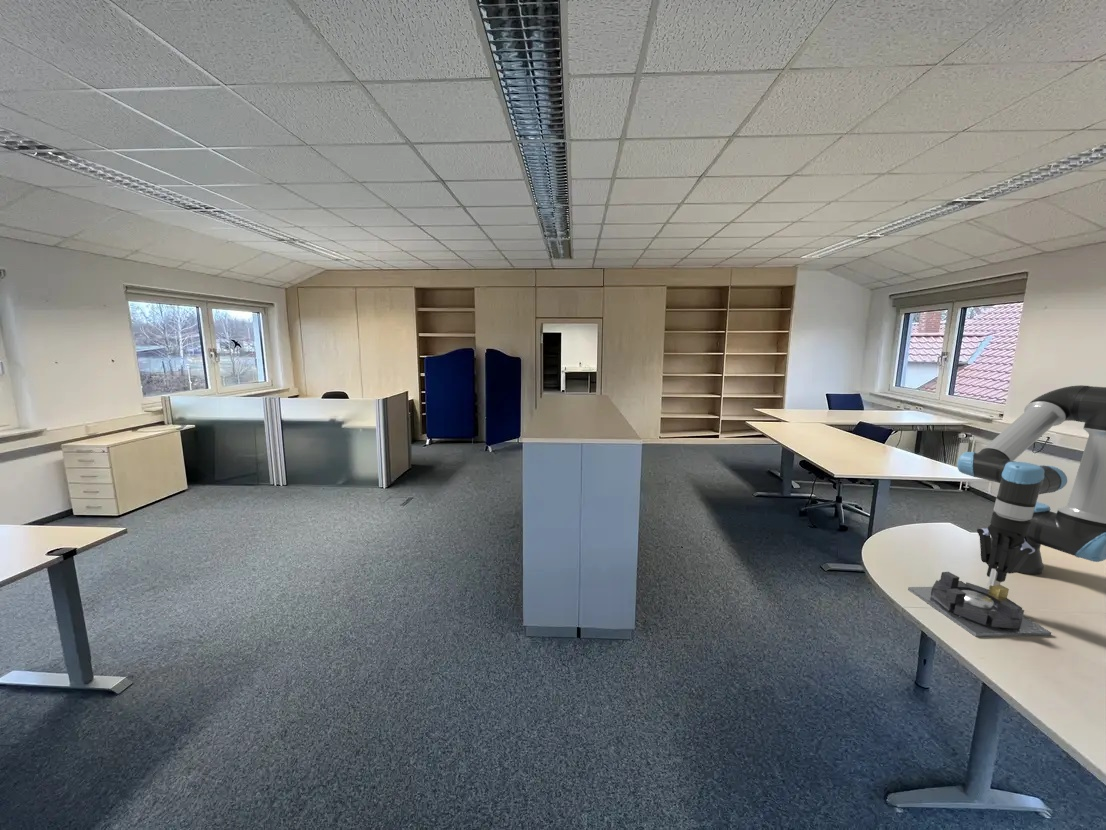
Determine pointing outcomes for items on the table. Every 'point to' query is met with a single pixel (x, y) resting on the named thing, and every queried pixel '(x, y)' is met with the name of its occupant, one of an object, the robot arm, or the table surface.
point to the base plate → (974, 627)
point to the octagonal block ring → (953, 600)
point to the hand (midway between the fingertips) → (992, 588)
